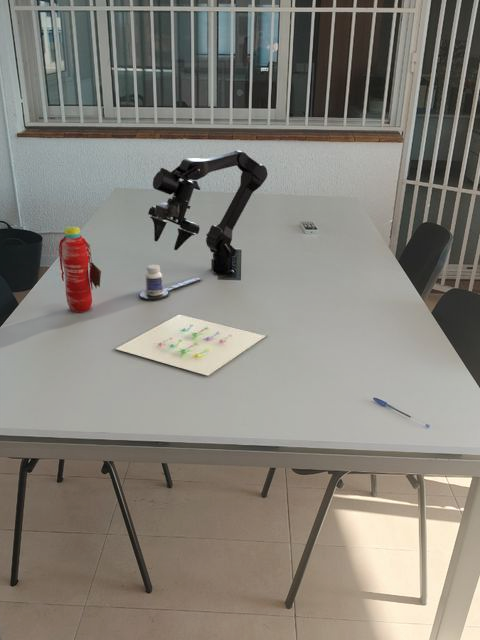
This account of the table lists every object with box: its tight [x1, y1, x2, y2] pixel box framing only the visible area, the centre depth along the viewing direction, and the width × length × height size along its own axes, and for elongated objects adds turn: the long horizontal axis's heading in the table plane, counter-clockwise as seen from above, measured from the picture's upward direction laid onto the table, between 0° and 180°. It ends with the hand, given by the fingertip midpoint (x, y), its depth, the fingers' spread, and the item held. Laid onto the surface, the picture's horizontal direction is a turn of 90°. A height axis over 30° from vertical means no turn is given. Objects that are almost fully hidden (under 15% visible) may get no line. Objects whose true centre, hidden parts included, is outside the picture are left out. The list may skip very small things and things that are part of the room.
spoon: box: [139, 277, 201, 302], centre depth 232 cm, size 26×8×1 cm, turn 139°
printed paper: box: [115, 314, 266, 377], centre depth 194 cm, size 30×30×2 cm
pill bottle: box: [145, 264, 164, 296], centre depth 224 cm, size 5×5×9 cm
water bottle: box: [58, 226, 102, 313], centre depth 210 cm, size 12×8×25 cm, turn 94°
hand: (165, 245), depth 232 cm, fingers open, 9 cm apart
